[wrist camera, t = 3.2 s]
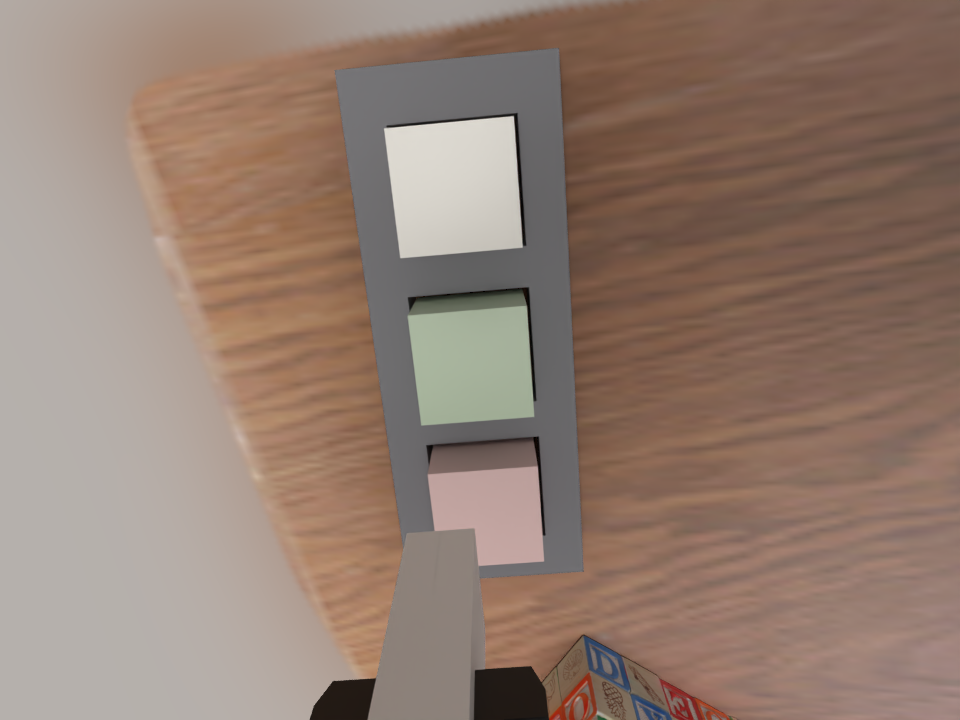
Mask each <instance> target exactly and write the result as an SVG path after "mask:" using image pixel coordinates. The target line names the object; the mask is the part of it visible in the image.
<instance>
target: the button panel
mask: <svg viewBox="0 0 960 720" xmlns="http://www.w3.org/2000/svg"><path fill="white" fill-rule="evenodd" d="M335 76H336V83H337V90H338V97H339V104H340V111H341V118H342V125H343V132H344V139H345V146H346V153H347V160H348V167H349V174H350V181H351V188H352V195H353V202H354V209H355V215H356V222H357V229H358V236H359V243H360V250H361V257H362V264H363V271H364V278H365V285H366V292H367V299H368V306H369V313H370V320H371V327H372V334H373V341H374V348H375V355H376V362H377V369H378V376H379V383H380V390H381V397H382V404H383V411H384V418H385V425H386V432H387V439H388V446H389V453H390V459H391V466H392V473H393V480H394V487H395V494H396V501H397V508H398V515H399V522H400V529H401V536H402V543H403V549H404V544H405V540H406V535H407V533H417V532H430V531H435V530H434V522H433V514H432V506H431V498H430V490H429V482H428V470H429V465H430V460H431V454H432V449H433V445H434V444H447V443H460V442H473V441H486V440H500V439H513V438H526V437H537V450H538V465H539V480H540V495H541V522H542V536H543V551H544V562H530V563H515V564H500V565H486V566H479V576H480V578H494V577H509V576H524V575H539V574H554V573H569V572H584V570H583V549H582V528H581V506H580V485H579V464H578V442H577V421H576V400H575V378H574V357H573V336H572V315H571V293H570V272H569V251H568V229H567V208H566V187H565V166H564V144H563V123H562V102H561V80H560V59H559V48H553V49H543V50H533V51H523V52H513V53H503V54H493V55H483V56H473V57H463V58H452V59H442V60H432V61H422V62H412V63H402V64H392V65H382V66H372V67H362V68H352V69H342V70H335ZM510 116H514V118H515V125H516V140H517V155H518V169H519V184H520V199H521V214H522V229H523V239H522V244H523V248H513V249H501V250H490V251H479V252H467V253H456V254H444V255H433V256H421V257H410V258H400V252H399V244H398V236H397V228H396V220H395V212H394V204H393V196H392V188H391V180H390V172H389V164H388V156H387V148H386V140H385V132H384V128H394V127H405V126H415V125H426V124H436V123H447V122H457V121H468V120H478V119H489V118H499V117H510ZM523 287H526V288H527V302H528V317H529V332H530V347H531V362H532V376H533V382H532V390H533V405H534V417H526V418H513V419H500V420H487V421H474V422H461V423H448V424H435V425H422V426H421V419H420V411H419V403H418V395H417V387H416V379H415V371H414V363H413V355H412V347H411V339H410V331H409V323H408V314H409V312H410V310H411V308H412V307H413V305H414V303H415V301H416V297H417V296H429V295H441V294H452V293H464V292H476V291H488V290H499V289H511V288H523Z"/></svg>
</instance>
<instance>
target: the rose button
mask: <svg viewBox="0 0 960 720" xmlns="http://www.w3.org/2000/svg"><path fill="white" fill-rule="evenodd" d="M428 482H429V490H430V498H431V506H432V514H433V522H434V530H435V531H444V530H457V529H471V528H475V538H476V547H477V557H478V566H486V565H500V564H515V563H530V562H544V551H543V536H542V522H541V507H540V492H539V477H538V465H537V459H536V452H535V446H534V440H533V437H526V438H513V439H500V440H486V441H473V442H460V443H447V444H434V445H433V449H432V454H431V460H430V465H429V470H428Z"/></svg>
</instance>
